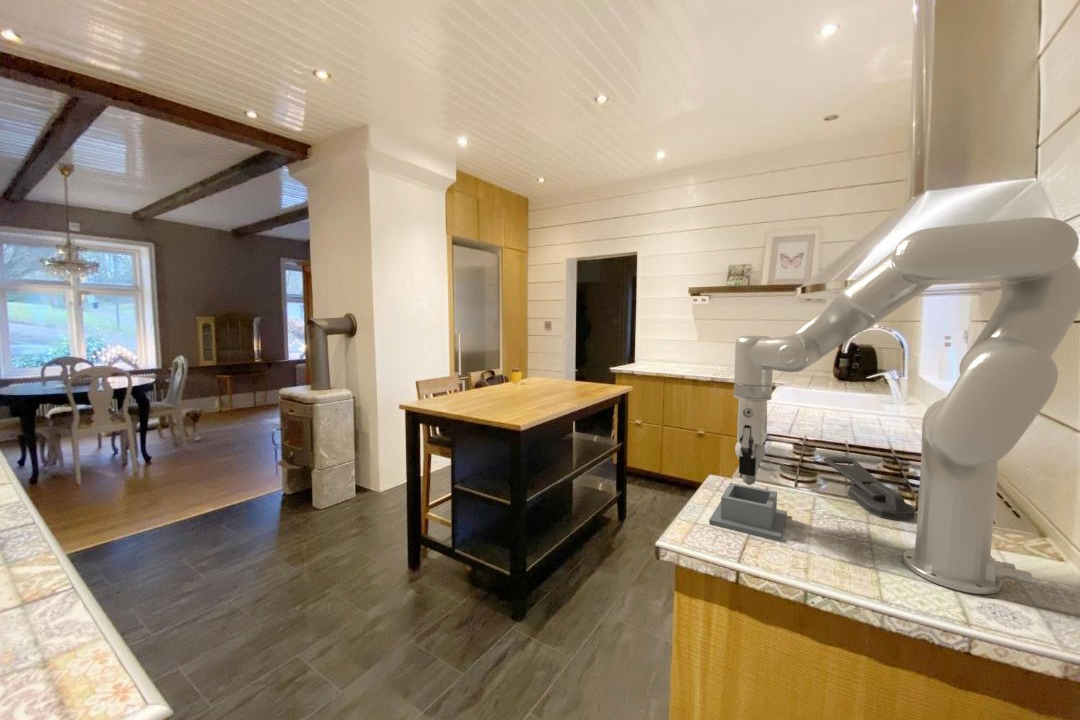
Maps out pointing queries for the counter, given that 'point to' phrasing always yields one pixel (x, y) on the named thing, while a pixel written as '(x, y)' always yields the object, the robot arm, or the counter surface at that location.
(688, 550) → the counter surface
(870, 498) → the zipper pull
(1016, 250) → the robot arm
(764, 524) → the socket holder
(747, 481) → the lightbulb
